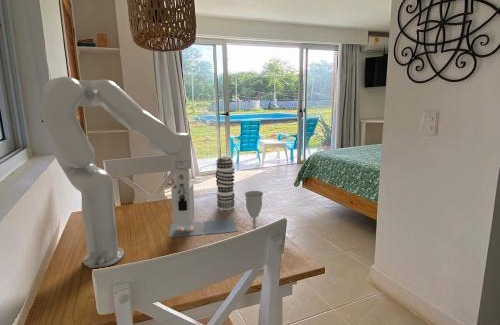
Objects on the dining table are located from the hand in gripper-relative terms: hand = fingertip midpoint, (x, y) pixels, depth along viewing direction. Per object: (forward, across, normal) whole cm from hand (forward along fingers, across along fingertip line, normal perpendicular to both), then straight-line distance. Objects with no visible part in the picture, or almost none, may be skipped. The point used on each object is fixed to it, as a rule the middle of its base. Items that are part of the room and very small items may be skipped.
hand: (183, 206), depth 125 cm
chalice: (+10, -14, -27) cm, 32 cm away
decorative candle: (+10, +22, -20) cm, 31 cm away
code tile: (+10, 0, -1) cm, 10 cm away
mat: (+10, 0, -15) cm, 18 cm away
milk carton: (+7, 0, 0) cm, 7 cm away
